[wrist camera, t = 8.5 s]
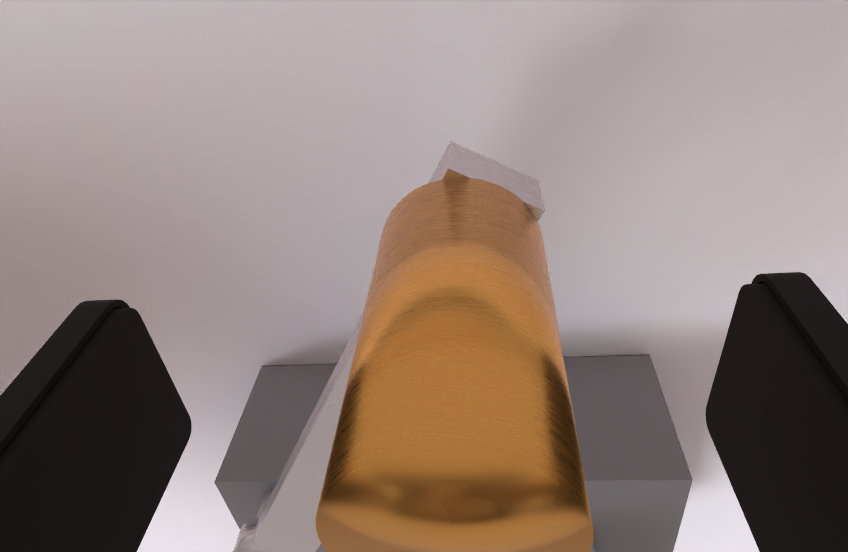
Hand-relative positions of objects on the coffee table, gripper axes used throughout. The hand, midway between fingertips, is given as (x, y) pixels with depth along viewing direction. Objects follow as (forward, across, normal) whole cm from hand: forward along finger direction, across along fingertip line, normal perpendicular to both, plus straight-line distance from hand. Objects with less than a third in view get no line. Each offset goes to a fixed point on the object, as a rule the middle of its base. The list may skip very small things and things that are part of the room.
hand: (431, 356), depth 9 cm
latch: (+4, +3, +6) cm, 8 cm away
